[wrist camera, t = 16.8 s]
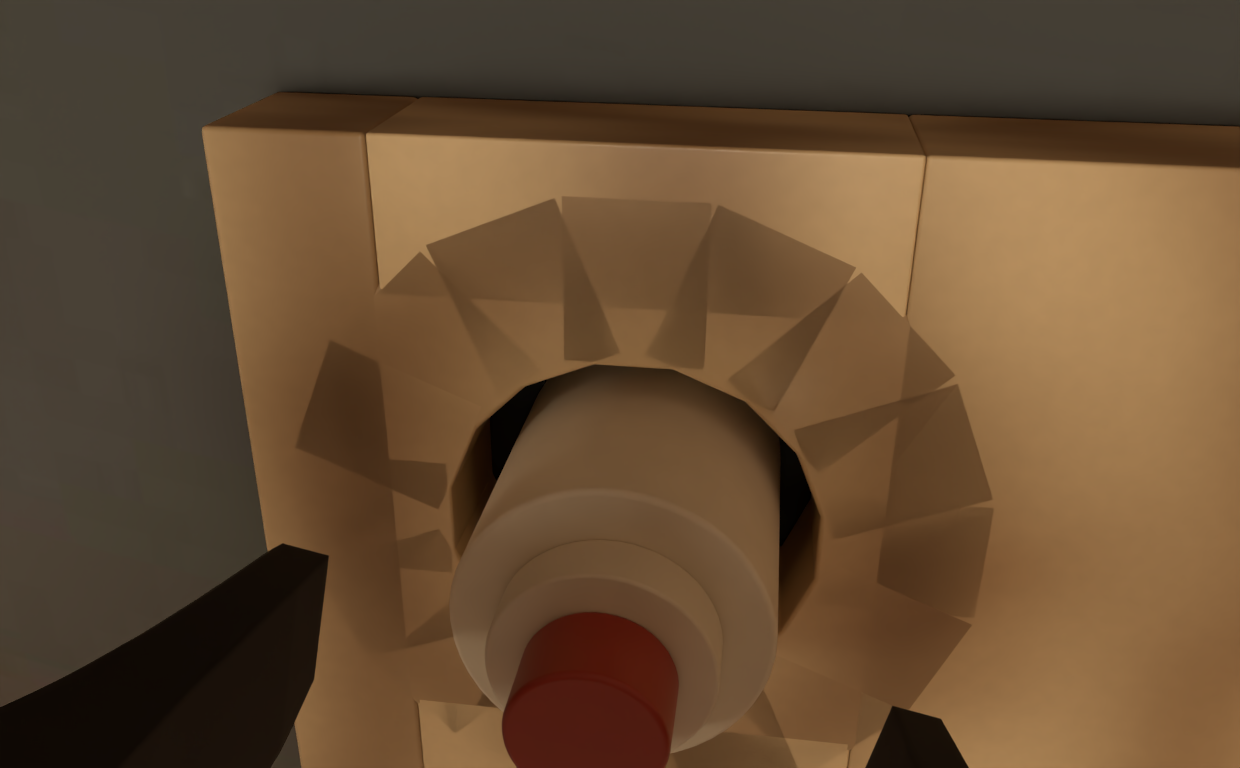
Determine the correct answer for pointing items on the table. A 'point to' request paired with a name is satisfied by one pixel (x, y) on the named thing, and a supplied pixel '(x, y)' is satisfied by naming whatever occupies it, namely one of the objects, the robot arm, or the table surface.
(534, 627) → the bottle
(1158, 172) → the board
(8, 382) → the table surface
